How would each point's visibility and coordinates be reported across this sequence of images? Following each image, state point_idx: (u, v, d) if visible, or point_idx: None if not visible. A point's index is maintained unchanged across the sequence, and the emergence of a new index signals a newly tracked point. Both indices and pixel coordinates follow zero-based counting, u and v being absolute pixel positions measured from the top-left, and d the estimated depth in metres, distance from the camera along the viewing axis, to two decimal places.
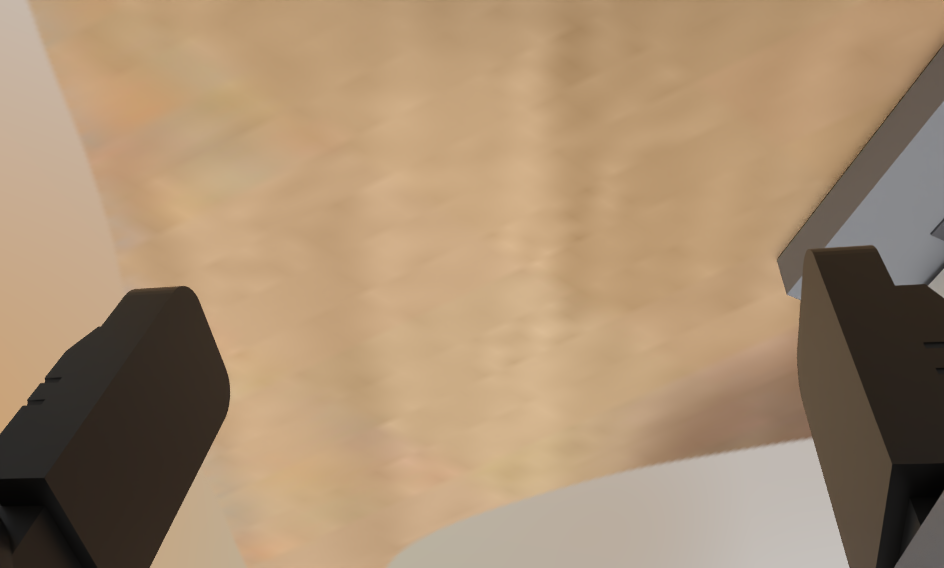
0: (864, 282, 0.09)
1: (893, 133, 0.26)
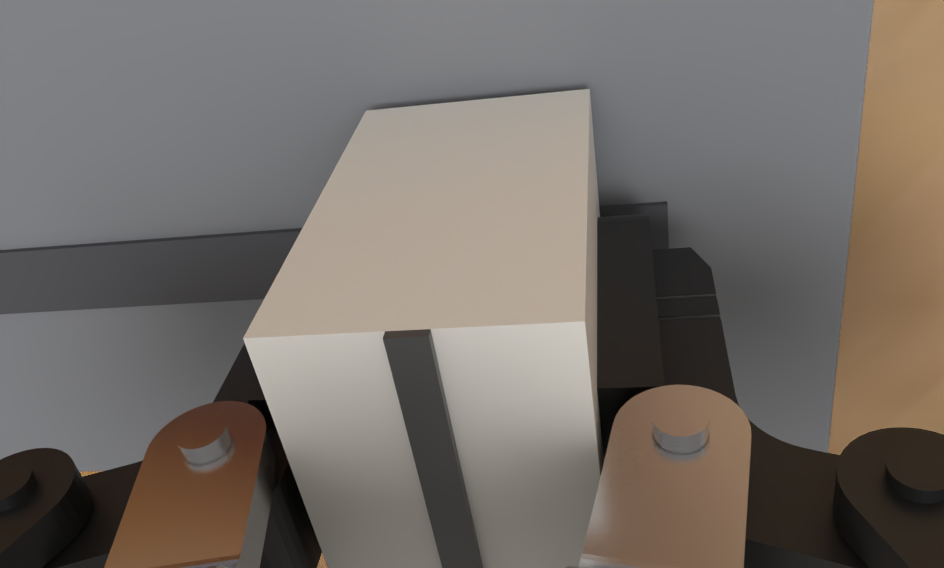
0: (627, 244, 0.11)
1: None
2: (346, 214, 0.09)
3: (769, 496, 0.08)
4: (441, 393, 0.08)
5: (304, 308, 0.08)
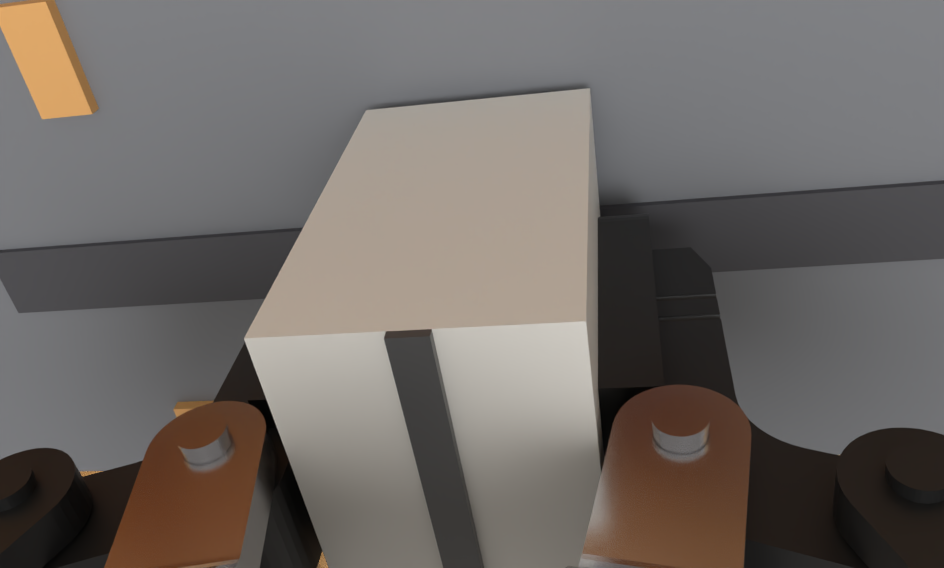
0: (627, 244, 0.11)
1: None
2: (346, 214, 0.09)
3: (769, 496, 0.08)
4: (443, 392, 0.08)
5: (305, 308, 0.08)
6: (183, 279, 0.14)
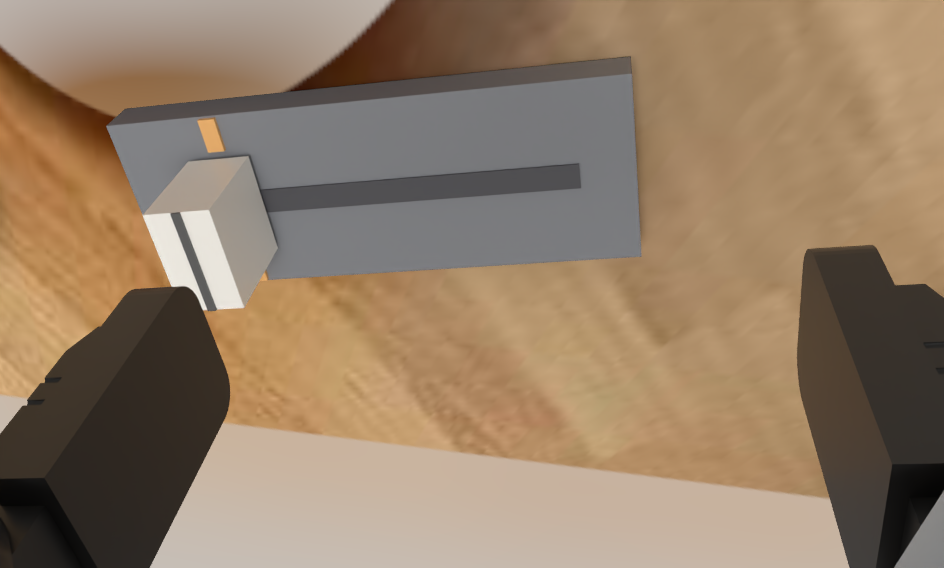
0: (864, 282, 0.09)
1: None
2: (172, 190, 0.38)
3: None
4: (184, 226, 0.37)
5: (156, 209, 0.37)
6: None
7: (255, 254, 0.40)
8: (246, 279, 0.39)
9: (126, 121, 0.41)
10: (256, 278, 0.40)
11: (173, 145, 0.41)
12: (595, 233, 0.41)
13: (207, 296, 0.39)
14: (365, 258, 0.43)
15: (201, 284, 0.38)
